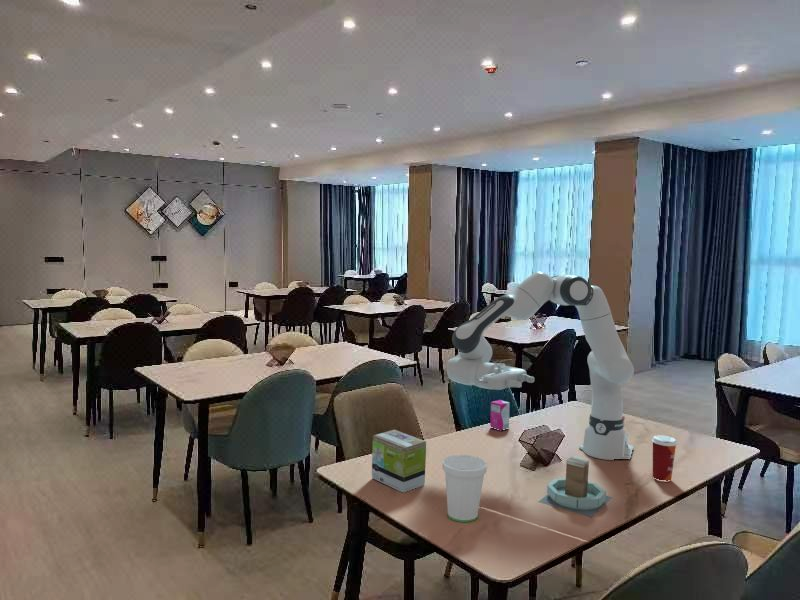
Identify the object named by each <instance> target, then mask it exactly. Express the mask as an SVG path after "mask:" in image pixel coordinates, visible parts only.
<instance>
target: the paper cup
mask: <svg viewBox="0 0 800 600" xmlns="http://www.w3.org/2000/svg"><path fill="white" fill-rule="evenodd" d="M651 442H652V478H653V477H654V478H656V479H659V480H666V481H668V480H671V481H672V475H673V469H674V462H675V461H674V460H675V457H676V456H675V454H676V446H677V445H678V443H677V440H676V439H675V437H671V436H668V435H662V434H661V435H654V436H653V438H652V439H651Z"/></svg>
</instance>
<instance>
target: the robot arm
mask: <svg viewBox="0 0 800 600" xmlns="http://www.w3.org/2000/svg"><path fill="white" fill-rule="evenodd" d="M547 302H550V304H551V303H552V304H554V305H558V306H564V307H565V306H574V307H575V308H576V310H577V312H578V316H579V320H580V324H581V326H582V330H583V334H584V337H585V340H586V342H587V343H588V345H589V347H590V349H591V351H590V352H589V353H588V355H587V361H586V362H587V365H588V369H589V378H590V379H589V380H590V388H591V407H590V414H589V417H588V418H589V419H588V421H589V422H588V423H589V425H588V426H586V427H585V428H584V433H583V434H584V435H583V443H581V444H580V445H579V446H578V447H579V450H582V452H583V453H585V454H586V455H588V456H589V457H592V458H596V459H600V460H606V461H615V460H614V459H629V458H631V459H632V456H631V454H632V455H633V452H632V450H633V451H634V446H633V445H632V444H629V443H628V442H629V441H628V437H629V435H628V433H627V432H626V429H625V428H624V427H625V426H624V425H625V418H626V417H625V415H624V414H623V410H624V395H623V391H622V387H621V385H623V384H627V383H628V382H630V381H631V380H632V378H633V376H634V374H635V368H634V365H633V363H632V361H631V360H630V358H629V356H628V354H627V350H626V349H625V347H624V344H623V343H622V340H621V339H620V336H619V334H618V330H617V329H616V328H617V327H616V324H615V320H614V319H613V313H612V310H611V308H610V305H609V302H608V299H607V297H606V295H605V293H604V291H603V289H602V288H601V287H599V286H597V285H590V284H589V282H588V281H587V279H585V278H584V277H583V276H579V275H576V274H573V275H572V274H562V275H554V276H550V275H549V274H548V273H545V272H543V271H536V272H534V273H532V274H531V275H529V276H528V277H526V278H525V279H524V280H523V281H521V282H520V284H518V286H516V288H514V289H513V290H512V291H511V292H510V293H508V294H503V295H501V296H499V297H497V298H496V299H495V300H493V301H491V303H489V304H488V305H487V306H485V307H484V308H483V309H481V310H480V311H479V312H478V313H477V314H476V315H474V316H473V317H472V318H470V319H469V320H467V321H464V323H461V324H459V325H458V326H457V327H456V329H455V330H454V331H453V333H452V337H451V341H452V345H453V346H454V347H455V348H456V349H457V350H458V351H459V353H458V354H456V355H455V356H454V357H452V358H450V359H448V361H447V363H446V368H445V369H446V374H447V377H448V378H449V379H450V381H452V382H455V383H458V384H462V385H466V386H475V387H478V388H481V389H487V390H491V391H492V390H496V391H499V390H504V389H508V388H518V389H519V388H522V386H523V385H522V384H523V382H527V383H530V384H532V383H534V382H535V377H534V376H532V375H531V376H530V375H529V374H527V371H526V370H525V369H523V368H518V367H514V366H509V365H506V364H505V363H500V362H499V363H495V362H491V360H492V357H493V354H494V353H493V352H494V351H493V348H492V346H491V344H490V343H489V341H488V340H487V339H486V338H485V336H484V333H485V331H486V330H488V329H489V328H490V327H491V326H492V325H493V324H495V323H496V322H497V321H499V320H500V319H501V318H504V317H509V318H511V319H513V320H517V321H526V320H528V319H530V318H531V317H533V316H534V315H535V314H536V313H537V312H538V311H539V309H540V308H541V307H542V306H544V304H546V303H547Z"/></svg>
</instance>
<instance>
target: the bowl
mask: <svg viewBox="0 0 800 600" xmlns="http://www.w3.org/2000/svg"><path fill="white" fill-rule="evenodd" d="M565 483H566V477H565V478H564V477H563V478H559V477H558V478H554V479H553V480H552V481H550V482H548V484H547V485H546V486H547V488H546V489H547V490H546V493H547V495H548V494H549V495H550V499H551V500H552V501H553V502H555V503H556V504H558V505H560V506H563V507H566V508H569V509H574V510H595V509H598V508H600V507H601V506H602V503H603V502H604V501H605V500H606V496H607V491H606V490H604V489H603V488H602V487H601V486H600V485H598V484H597V483H596V482H592V481H589V480H588V487H587V496H586V497H585V498H576V497H573V496H569V495H566V494H565Z"/></svg>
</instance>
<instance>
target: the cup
mask: <svg viewBox="0 0 800 600" xmlns="http://www.w3.org/2000/svg"><path fill="white" fill-rule="evenodd" d="M441 463H442V464H441V465H442V466H441V467H442V470H443V471H444V474H445V475H444V476H445V492H446V503H447V505H446V506H447V517H448V518H449V519H451V521H452V520H453V521H455V522H458V521H459V523H471V522H474V521H476V520H477V519H478V514H479V509H480V502H481V495H482V489H483V483H484V476H485V475H486V474H487V468H488V465H487V462H486V461H485V460H484V459H482V458H479V457H478V456H477V457H476V456H473V455H469V454H468V455H467V454H466V455H465V454H464V455H463V454H460V455H459V454H457V455H455V454H453V455H450V456H449V455H448V456H446V457H445V458H444V459H442V462H441ZM476 518H477V519H476ZM475 519H476V520H475ZM473 520H474V521H473ZM470 521H471V522H470Z"/></svg>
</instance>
